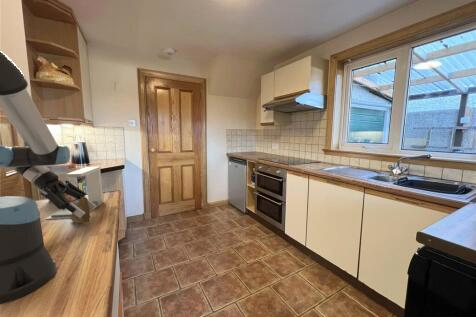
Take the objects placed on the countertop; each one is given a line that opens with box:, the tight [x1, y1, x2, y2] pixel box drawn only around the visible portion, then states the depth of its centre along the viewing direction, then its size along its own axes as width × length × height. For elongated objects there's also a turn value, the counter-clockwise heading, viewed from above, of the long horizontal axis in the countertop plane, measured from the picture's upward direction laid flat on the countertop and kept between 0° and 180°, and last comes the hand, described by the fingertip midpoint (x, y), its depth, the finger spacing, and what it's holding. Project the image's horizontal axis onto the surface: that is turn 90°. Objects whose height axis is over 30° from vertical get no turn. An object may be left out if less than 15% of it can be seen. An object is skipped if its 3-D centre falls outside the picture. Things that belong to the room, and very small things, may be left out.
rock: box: [69, 196, 91, 225], centre depth 88 cm, size 11×9×10 cm
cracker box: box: [44, 163, 79, 203], centre depth 116 cm, size 14×6×21 cm, turn 84°
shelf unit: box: [44, 166, 105, 221], centre depth 102 cm, size 21×15×20 cm
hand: (88, 211), depth 90 cm, fingers closed on rock, 7 cm apart
